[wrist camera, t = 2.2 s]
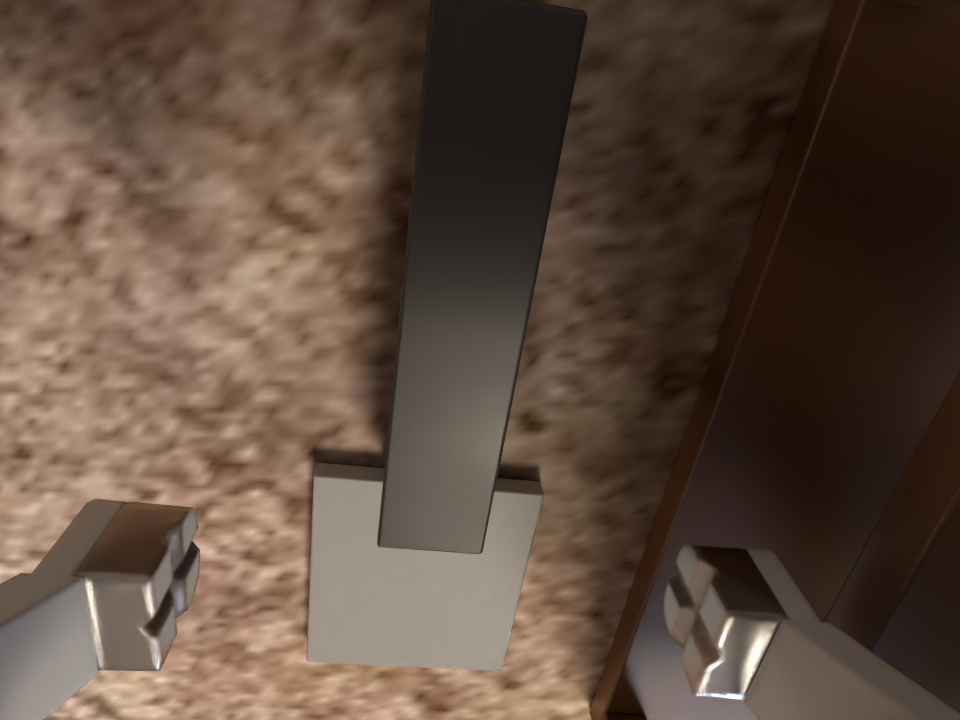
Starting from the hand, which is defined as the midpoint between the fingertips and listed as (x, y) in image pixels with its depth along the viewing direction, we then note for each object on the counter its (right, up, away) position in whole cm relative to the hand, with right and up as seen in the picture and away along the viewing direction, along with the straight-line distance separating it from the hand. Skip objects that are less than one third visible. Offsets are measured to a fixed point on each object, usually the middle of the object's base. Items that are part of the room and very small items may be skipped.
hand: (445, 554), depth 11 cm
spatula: (0, +3, +5) cm, 6 cm away
